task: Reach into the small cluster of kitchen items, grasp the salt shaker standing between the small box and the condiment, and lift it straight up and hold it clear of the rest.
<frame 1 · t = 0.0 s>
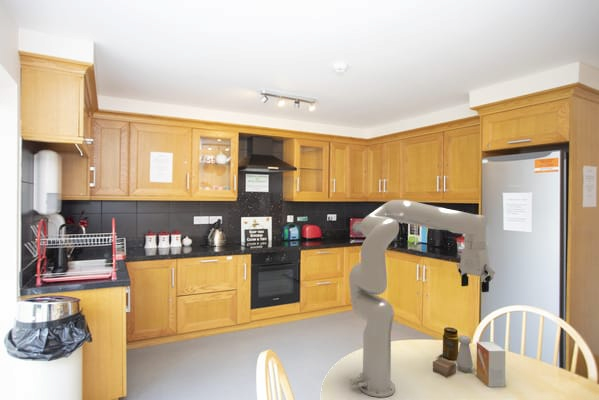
hand: (474, 288, 137), 31 cm above the table, tool pointing down, fingers open, 9 cm apart
salt shaker: (464, 370, 135), on the table
small box: (490, 382, 126), on the table
walnut block: (444, 372, 133), on the table
condiment: (449, 358, 145), on the table
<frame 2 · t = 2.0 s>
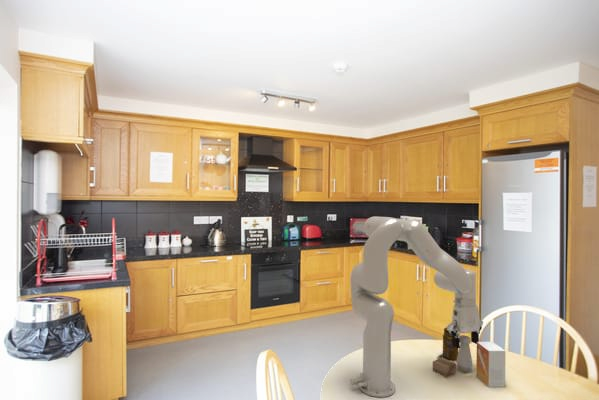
hand: (465, 345, 135), 10 cm above the table, tool pointing down, fingers open, 9 cm apart
nothing on the table moved.
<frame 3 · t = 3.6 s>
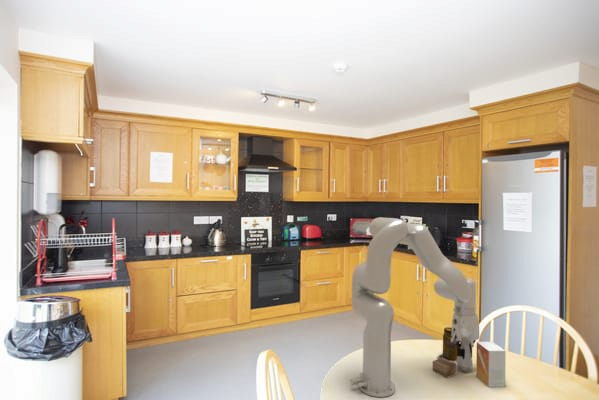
hand: (464, 356, 135), 5 cm above the table, tool pointing down, fingers closed on salt shaker, 3 cm apart
salt shaker: (464, 370, 135), on the table, touching gripper
everything else where it was.
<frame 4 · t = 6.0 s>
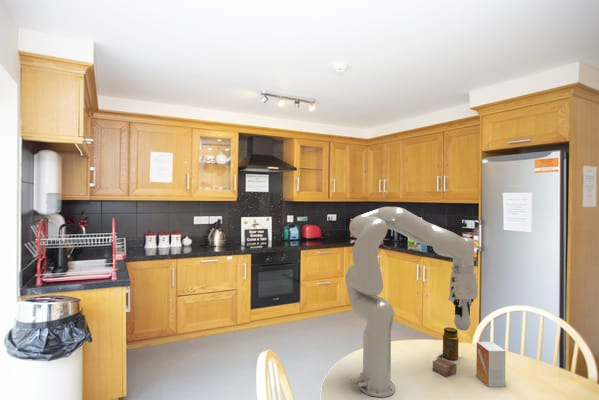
hand: (462, 315, 135), 21 cm above the table, tool pointing down, fingers closed on salt shaker, 3 cm apart
salt shaker: (461, 329, 135), point 16 cm above the table, touching gripper
everything else where it was.
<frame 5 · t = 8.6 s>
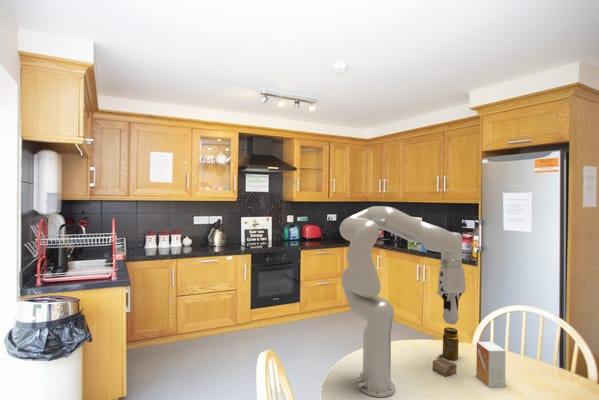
hand: (450, 309, 137), 23 cm above the table, tool pointing down, fingers closed on salt shaker, 3 cm apart
salt shaker: (450, 322, 136), point 18 cm above the table, touching gripper
everything else where it was.
at the end: the gripper is holding salt shaker; salt shaker point 17.7 cm above the table; small box moved 0.2 cm from its start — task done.
